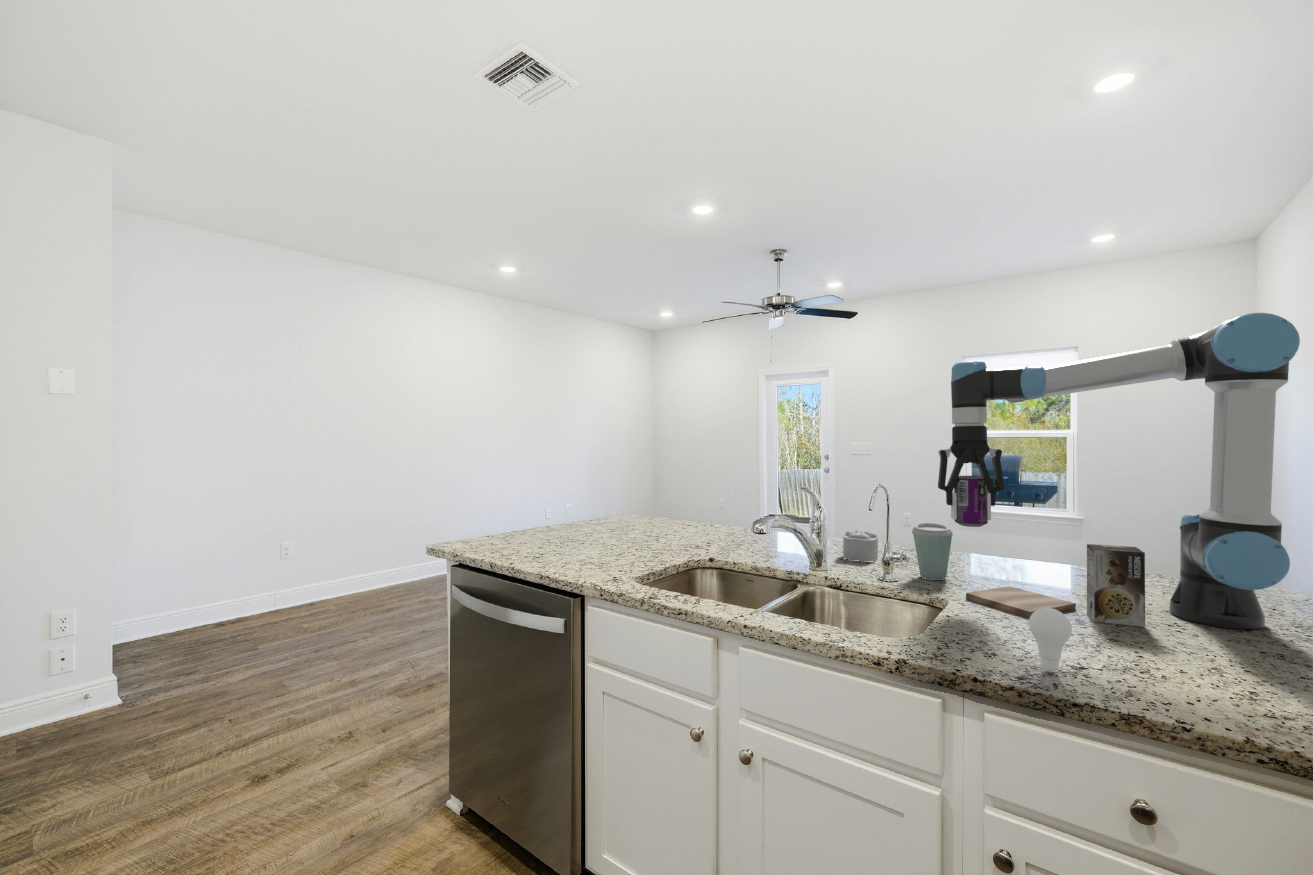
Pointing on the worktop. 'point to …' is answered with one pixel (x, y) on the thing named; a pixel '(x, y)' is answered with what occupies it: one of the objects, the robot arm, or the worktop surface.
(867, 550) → the lumpy-topped squat cylinder
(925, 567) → the disposable coffee cup
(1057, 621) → the lightbulb
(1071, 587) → the worktop surface
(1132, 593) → the coffee box
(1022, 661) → the worktop surface
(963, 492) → the beverage can
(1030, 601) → the walnut board
